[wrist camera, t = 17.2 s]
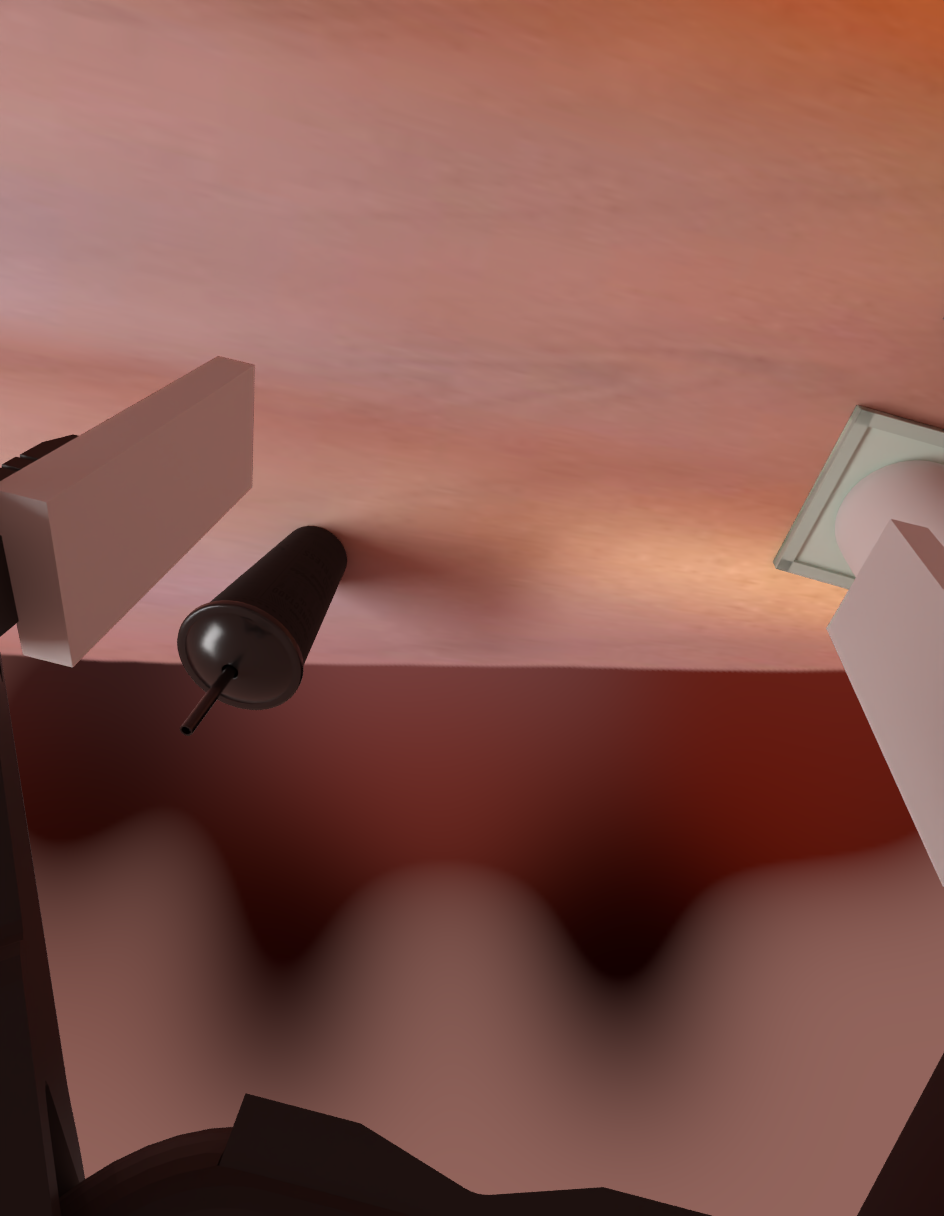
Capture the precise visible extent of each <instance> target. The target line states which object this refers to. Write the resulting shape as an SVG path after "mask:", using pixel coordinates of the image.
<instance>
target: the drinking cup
mask: <svg viewBox="0 0 944 1216" xmlns="http://www.w3.org/2000/svg"><path fill="white" fill-rule="evenodd" d="M346 565H347V556H346V552H345V549H344V547H343V545H342V544H341V542H340V541H339V540H338V539H337V538H336V537H335V536H334V535H333V534H332V533H330V532H329V531H327V530H325V529H322V528H319V527H314V526H305V527H301V528H298V529H296V530H295V531H293V532H292V533H291V534H290V535H288V536H287V537H286V538H285V539H284V540H283V541H281V542H280V543H279V544H278V545H277V546H276V547H274V548H273V549H272V550H271V551H270V552H268V553H267V554H266V555H265V556H264V557H263V558H261V559H260V560H259V561H258V562H257V563H255V564H254V565H253V566H252V567H251V568H250V569H248V570H247V571H246V572H245V573H244V574H243V575H241V576H240V577H239V578H238V579H237V580H235V581H234V582H233V583H232V584H231V585H230V586H228V587H227V588H226V589H225V590H224V591H223V592H221V593H220V594H219V595H218V596H217V597H215V598H214V599H213V600H212V601H211V602H210V603H206V604H204V605H201V606H199V607H198V608H196V609H195V610H193V611H192V612H191V613H190V614H189V615H188V616H187V617H186V618H185V620H184V621H183V623H182V624H181V627H180V629H179V633H178V639H177V646H178V652H179V656H180V659H181V662H182V664H183V666H184V668H185V670H186V671H187V673H188V674H189V675H190V676H191V678H192V679H193V680H194V682H195V683H196V684H197V685H199V687H201V688H202V689H203V690H204V691H205V692H207V693H206V694H205V695H204V697H203V698H202V699H201V701H200V702H199V703H198V705H197V706H196V707H195V709H194V710H193V711H192V713H191V714H190V715H189V717H188V718H187V719H186V721H185V722H184V723H183V724H182V726H181V727H180V731H181V733H183V734H184V735H187V736H189V735H191V734H192V733H193V732H194V730H195V729H196V728H197V726H198V725H199V724H200V722H201V721H202V719H203V718H204V717H205V715H206V714H207V713H208V711H209V710H210V708H211V707H212V706H213V704H214V703H215V702H216V700H217V699H218V700H219V701H221V702H224V703H226V704H228V705H231V706H235V707H238V708H242V709H249V710H263V709H269V708H273V707H276V706H278V705H281V704H282V703H284V702H285V701H287V700H288V699H289V698H291V697H292V696H293V694H294V693H295V692H296V690H297V689H298V687H299V685H300V683H301V680H302V676H303V665H304V663H305V661H306V658H307V656H308V654H309V652H310V649H311V647H312V645H313V642H314V640H315V638H316V635H317V633H318V631H319V628H320V626H321V624H322V622H323V619H324V617H325V615H326V612H327V610H328V608H329V605H330V603H331V601H332V599H333V596H334V594H335V592H336V589H337V587H338V585H339V582H340V580H341V578H342V576H343V573H344V571H345V568H346Z"/></svg>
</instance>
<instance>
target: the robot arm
mask: <svg viewBox="0 0 944 1216" xmlns="http://www.w3.org/2000/svg"><path fill="white" fill-rule="evenodd" d="M254 374H255V365H253V364H249V363H245V362H241V361H237V360H233V359H229V358H224V357H220V356H217V357H216V358H214V359H212V360H210V361H209V362H207V363H205V364H203V365H202V366H200V367H198V368H197V369H195V370H193V371H191V372H190V373H188V374H186V375H184V376H183V377H181V378H179V379H177V380H176V381H174V382H172V383H170V384H169V385H167V386H165V387H163V388H162V389H160V390H158V391H157V392H155V393H153V394H151V395H150V396H148V397H146V398H144V399H143V400H141V401H139V402H137V403H136V404H134V405H132V406H130V407H129V408H127V409H125V410H123V411H122V412H120V413H118V414H116V415H115V416H113V417H111V418H110V419H108V420H106V421H104V422H103V423H101V424H99V425H97V426H96V427H94V428H92V429H90V430H89V431H87V432H85V433H83V434H82V435H80V436H77V435H69V436H65V437H61V438H57V439H53V440H49V441H45V442H42V443H40V444H38V445H37V446H35V447H33V448H31V449H29V450H27V451H26V452H24V453H22V454H20V458H19V457H15V458H13V459H11V460H9V461H7V462H5V463H4V464H2V468H0V636H2V635H3V634H4V633H5V632H6V631H8V630H9V629H10V628H11V627H12V626H14V625H15V624H16V623H17V628H18V633H19V638H20V643H21V647H22V652H23V655H25V656H29V657H33V658H37V659H41V660H45V661H49V662H53V663H57V664H61V665H65V666H69V667H73V666H74V665H75V664H76V663H77V662H78V661H79V660H80V659H81V658H82V657H83V656H84V655H85V654H86V653H87V652H88V651H89V650H90V649H91V648H92V647H93V646H94V645H95V644H96V643H97V642H98V641H99V640H100V639H101V638H102V637H103V636H104V635H105V634H106V633H107V632H108V631H109V630H110V629H111V628H112V627H113V626H114V625H115V624H116V623H117V622H118V621H119V620H120V619H121V618H122V617H123V616H124V615H125V614H126V613H127V612H128V611H129V610H130V609H131V608H132V607H133V606H134V605H135V604H136V603H137V602H138V601H139V600H140V599H141V598H142V597H143V596H144V595H145V594H146V593H147V592H148V591H149V590H150V589H151V588H152V587H153V586H154V585H155V584H156V583H157V582H158V581H159V580H160V579H161V578H162V577H163V576H164V575H165V574H166V573H167V572H168V571H169V570H170V569H171V568H172V567H173V566H174V565H175V564H176V563H177V562H178V561H179V560H180V559H181V558H182V557H183V556H184V555H185V554H186V553H187V552H188V551H189V550H190V549H191V548H192V547H193V546H194V545H195V544H196V543H197V542H198V541H199V540H200V539H201V538H202V537H203V536H204V535H205V534H206V533H207V532H208V531H209V530H210V529H211V528H212V527H213V526H214V525H215V524H216V523H217V522H218V521H219V520H220V519H221V518H222V517H223V516H224V515H225V514H226V513H227V512H228V511H229V510H230V509H231V508H232V507H233V506H234V505H235V504H236V503H237V502H238V501H239V500H240V499H241V498H242V497H243V496H244V495H245V494H246V493H247V492H248V491H249V490H250V489H251V488H252V472H253V423H254ZM826 629H827V631H828V633H829V635H830V637H831V640H832V642H833V644H834V646H835V649H836V651H837V653H838V655H839V657H840V660H841V662H842V664H843V666H844V668H845V671H846V673H847V675H848V677H849V680H850V682H851V684H852V686H853V688H854V691H855V693H856V695H857V697H858V699H859V701H860V704H861V706H862V708H863V711H864V713H865V715H866V717H867V719H868V722H869V724H870V726H871V728H872V730H873V733H874V735H875V737H876V739H877V742H878V744H879V746H880V748H881V750H882V753H883V755H884V757H885V759H886V762H887V764H888V766H889V768H890V770H891V773H892V775H893V777H894V779H895V781H896V783H897V786H898V788H899V790H900V793H901V795H902V797H903V799H904V801H905V804H906V806H907V808H908V810H909V812H910V815H911V817H912V819H913V821H914V823H915V826H916V828H917V830H918V832H919V835H920V837H921V839H922V841H923V844H924V846H925V848H926V850H927V852H928V855H929V857H930V859H931V861H932V864H933V866H934V868H935V870H936V872H937V875H938V877H939V879H940V881H941V883H942V886H943V887H944V547H943V545H942V544H941V543H940V542H939V540H938V539H937V538H936V537H935V536H934V534H933V533H932V532H931V531H930V530H929V528H927V527H922V526H918V525H914V524H910V523H906V522H902V521H898V520H894V519H890V520H889V522H888V523H887V525H886V527H885V529H884V530H883V532H882V534H881V535H880V537H879V539H878V541H877V542H876V544H875V546H874V547H873V549H872V551H871V553H870V554H869V556H868V558H867V559H866V561H865V563H864V565H863V566H862V568H861V570H860V571H859V573H858V575H857V577H856V578H855V580H854V582H853V583H852V585H851V587H850V589H849V590H848V592H847V594H846V595H845V597H844V599H843V600H842V602H841V604H840V606H839V607H838V609H837V611H836V612H835V614H834V616H833V618H832V619H831V621H830V623H829V624H828V626H827V628H826ZM0 1216H711V1215H707V1214H703V1213H700V1212H695V1211H692V1210H687V1209H684V1208H680V1207H677V1206H673V1205H669V1204H665V1203H661V1202H658V1201H654V1200H650V1199H646V1198H642V1197H639V1196H635V1195H631V1194H627V1193H623V1192H619V1191H615V1190H612V1189H608V1188H604V1187H601V1188H586V1189H572V1190H556V1191H541V1192H528V1193H513V1194H497V1195H482V1194H477V1193H474V1192H471V1191H469V1190H467V1189H465V1188H463V1187H462V1186H460V1185H459V1184H457V1183H455V1182H454V1181H452V1180H451V1179H449V1178H447V1177H446V1176H444V1175H442V1174H441V1173H439V1172H438V1171H436V1170H435V1169H433V1168H431V1167H430V1166H428V1165H426V1164H425V1163H423V1162H422V1161H420V1160H418V1159H417V1158H415V1157H413V1156H412V1155H410V1154H409V1153H407V1152H406V1151H404V1150H402V1149H401V1148H399V1147H398V1146H396V1145H394V1144H393V1143H391V1142H389V1141H388V1140H386V1139H385V1138H383V1137H381V1136H380V1135H378V1134H377V1133H375V1132H373V1131H372V1130H370V1129H369V1128H367V1127H365V1126H364V1125H362V1124H360V1123H356V1122H353V1121H349V1120H345V1119H341V1118H337V1117H334V1116H330V1115H326V1114H322V1113H318V1112H315V1111H311V1110H307V1109H303V1108H299V1107H296V1106H292V1105H288V1104H284V1103H280V1102H276V1101H273V1100H269V1099H265V1098H261V1097H258V1096H254V1095H250V1094H245V1096H244V1099H243V1102H242V1105H241V1107H240V1110H239V1113H238V1115H237V1118H236V1121H235V1123H234V1126H233V1127H226V1128H214V1129H207V1130H202V1131H197V1132H192V1133H187V1134H182V1135H178V1136H175V1137H172V1138H169V1139H166V1140H163V1141H160V1142H157V1143H155V1144H152V1145H148V1146H146V1147H144V1148H142V1149H140V1150H138V1151H135V1152H133V1153H131V1154H129V1155H127V1156H125V1157H123V1158H121V1159H119V1160H116V1161H114V1162H112V1163H111V1164H109V1165H108V1166H106V1167H104V1168H103V1169H101V1170H99V1171H98V1172H96V1173H95V1174H93V1175H91V1176H90V1177H88V1178H87V1179H85V1176H84V1170H83V1164H82V1158H81V1153H80V1147H79V1142H78V1137H77V1132H76V1127H75V1122H74V1117H73V1112H72V1108H71V1103H70V1097H69V1092H68V1086H67V1080H66V1075H65V1067H64V1061H63V1054H62V1049H61V1041H60V1035H59V1029H58V1022H57V1016H56V1009H55V1003H54V996H53V990H52V983H51V977H50V971H49V964H48V957H47V951H46V944H45V938H44V931H43V925H42V918H41V912H40V906H39V899H38V892H37V886H36V879H35V873H34V866H33V861H32V854H31V847H30V841H29V834H28V828H27V821H26V815H25V808H24V803H23V796H22V790H21V782H20V776H19V770H18V763H17V756H16V750H15V743H14V737H13V731H12V724H11V717H10V711H9V705H8V698H7V692H6V685H5V679H4V672H3V666H2V659H1V654H0ZM857 1216H944V1053H943V1055H942V1057H941V1059H940V1061H939V1063H938V1065H937V1067H936V1069H935V1070H934V1072H933V1074H932V1076H931V1078H930V1080H929V1082H928V1083H927V1085H926V1087H925V1089H924V1091H923V1093H922V1095H921V1097H920V1098H919V1100H918V1102H917V1104H916V1106H915V1108H914V1110H913V1112H912V1113H911V1115H910V1117H909V1119H908V1121H907V1123H906V1125H905V1127H904V1129H903V1131H902V1132H901V1134H900V1136H899V1138H898V1140H897V1142H896V1144H895V1145H894V1148H893V1149H892V1151H891V1153H890V1155H889V1157H888V1159H887V1160H886V1162H885V1164H884V1166H883V1168H882V1170H881V1172H880V1174H879V1175H878V1177H877V1179H876V1181H875V1183H874V1185H873V1187H872V1189H871V1191H870V1193H869V1195H868V1196H867V1198H866V1200H865V1202H864V1204H863V1206H862V1207H861V1210H860V1211H859V1213H858V1215H857Z"/></svg>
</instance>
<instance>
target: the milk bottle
mask: <svg viewBox="0 0 944 1216" xmlns="http://www.w3.org/2000/svg"><path fill="white" fill-rule="evenodd" d="M890 519H894V520H898V521H902V522H906V523H910V524H914V525H918V526H922V527H927V528H929V530H930V531H931V532H932V533H933V534H934V536H935V537H936V538H937V539H938V540H939V542H940V543H941V544H942V545H943V547H944V465H942V464H939V463H936V462H931V461H923V460H913V461H904V462H898V463H894V464H891V465H887V466H884V467H882V468H880V469H878V470H876V471H873V472H872V473H870V474H869V475H868V476H866V477H864V478H863V479H861V480H860V481H859V482H858V483H857V484H856V485H855V486H854V487H853V488H852V489H851V490H850V492H849V493H848V494H847V495H846V497H845V498H844V500H843V502H842V504H841V506H840V508H839V510H838V513H837V516H836V520H835V538H836V542H837V544H838V547H839V549H840V551H841V553H842V555H843V557H844V558H845V560H846V562H847V563H848V565H849V567H850V569H851V570H852V572H853V574H854V575H855V577H857V575H858V573H859V571H860V570H861V568H862V566H863V565H864V563H865V561H866V559H867V558H868V556H869V554H870V553H871V551H872V549H873V547H874V546H875V544H876V542H877V541H878V539H879V537H880V535H881V534H882V532H883V530H884V529H885V527H886V525H887V523H888V522H889V520H890Z"/></svg>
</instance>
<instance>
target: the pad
mask: <svg viewBox="0 0 944 1216" xmlns="http://www.w3.org/2000/svg"><path fill="white" fill-rule="evenodd" d="M913 460H923V461H931V462H936V463H939V464H942V465H944V429H941V428H937V427H933V426H930V425H926V424H923V423H919V422H916V421H912V420H909V419H905V418H902V417H898V416H895V415H891V414H888V413H884V412H881V411H877V410H874V409H870V408H866V407H863V406H859V405H856V407H855V409H854V411H853V413H852V415H851V417H850V418H849V420H848V422H847V424H846V426H845V428H844V430H843V432H842V433H841V435H840V437H839V439H838V441H837V443H836V445H835V447H834V448H833V450H832V452H831V454H830V456H829V458H828V460H827V461H826V463H825V465H824V467H823V469H822V471H821V473H820V475H819V476H818V478H817V480H816V482H815V484H814V486H813V488H812V490H811V491H810V493H809V495H808V497H807V499H806V501H805V503H804V504H803V506H802V508H801V510H800V512H799V514H798V516H797V518H796V519H795V521H794V523H793V525H792V527H791V529H790V531H789V533H788V534H787V536H786V538H785V540H784V542H783V544H782V546H781V547H780V549H779V551H778V553H777V555H776V557H775V559H774V561H773V563H774V565H775V568H776V569H779V570H782V571H786V572H789V573H793V574H796V575H800V576H803V577H807V578H810V579H814V580H817V581H821V582H824V583H828V584H831V585H835V586H838V587H842V588H845V589H850V587H851V585H852V583H853V582H854V580H855V578H856V577H855V575H854V574H853V572H852V570H851V569H850V567H849V565H848V563H847V562H846V560H845V558H844V557H843V555H842V553H841V551H840V549H839V547H838V544H837V542H836V538H835V520H836V516H837V513H838V510H839V508H840V506H841V504H842V502H843V500H844V498H845V497H846V495H847V494H848V493H849V492H850V490H851V489H852V488H853V487H854V486H855V485H856V484H857V483H858V482H859V481H860V480H861V479H863V478H864V477H866V476H868V475H869V474H870V473H872V472H873V471H876V470H878V469H880V468H882V467H884V466H887V465H891V464H894V463H898V462H904V461H913Z"/></svg>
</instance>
